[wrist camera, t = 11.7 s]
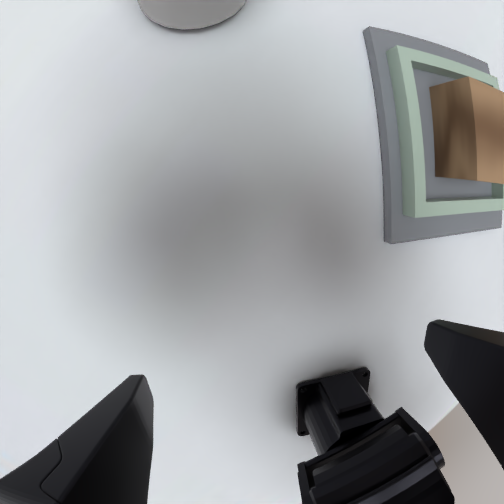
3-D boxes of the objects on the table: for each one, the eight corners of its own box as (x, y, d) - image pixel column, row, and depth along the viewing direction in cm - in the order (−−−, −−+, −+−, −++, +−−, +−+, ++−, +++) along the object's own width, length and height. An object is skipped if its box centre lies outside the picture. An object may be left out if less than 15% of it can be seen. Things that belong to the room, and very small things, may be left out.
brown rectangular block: (474, 180, 20) (513, 185, 15) (434, 176, 19) (477, 180, 15) (469, 100, 18) (507, 94, 14) (429, 87, 17) (468, 76, 13)
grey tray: (494, 225, 22) (512, 230, 20) (384, 241, 21) (403, 249, 18) (480, 65, 18) (497, 60, 16) (362, 31, 17) (378, 18, 14)
